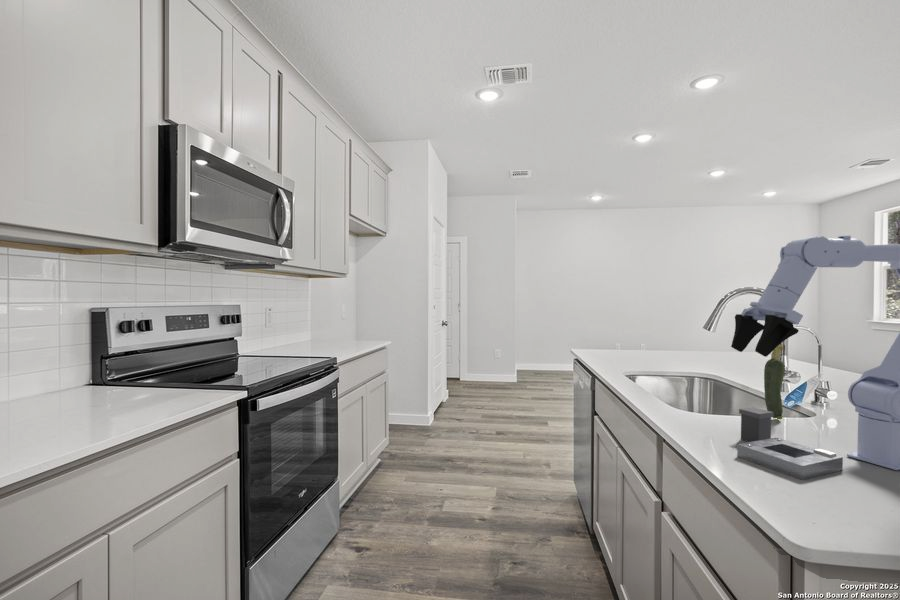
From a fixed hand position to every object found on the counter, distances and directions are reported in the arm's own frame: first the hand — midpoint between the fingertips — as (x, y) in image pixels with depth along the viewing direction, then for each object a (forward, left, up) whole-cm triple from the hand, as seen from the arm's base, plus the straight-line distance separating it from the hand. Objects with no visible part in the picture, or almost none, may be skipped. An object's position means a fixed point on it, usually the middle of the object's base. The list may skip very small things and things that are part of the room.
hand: (747, 351), depth 88 cm
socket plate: (-6, +4, -22) cm, 23 cm away
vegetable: (-35, -17, -22) cm, 45 cm away
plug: (-13, -7, -22) cm, 27 cm away
